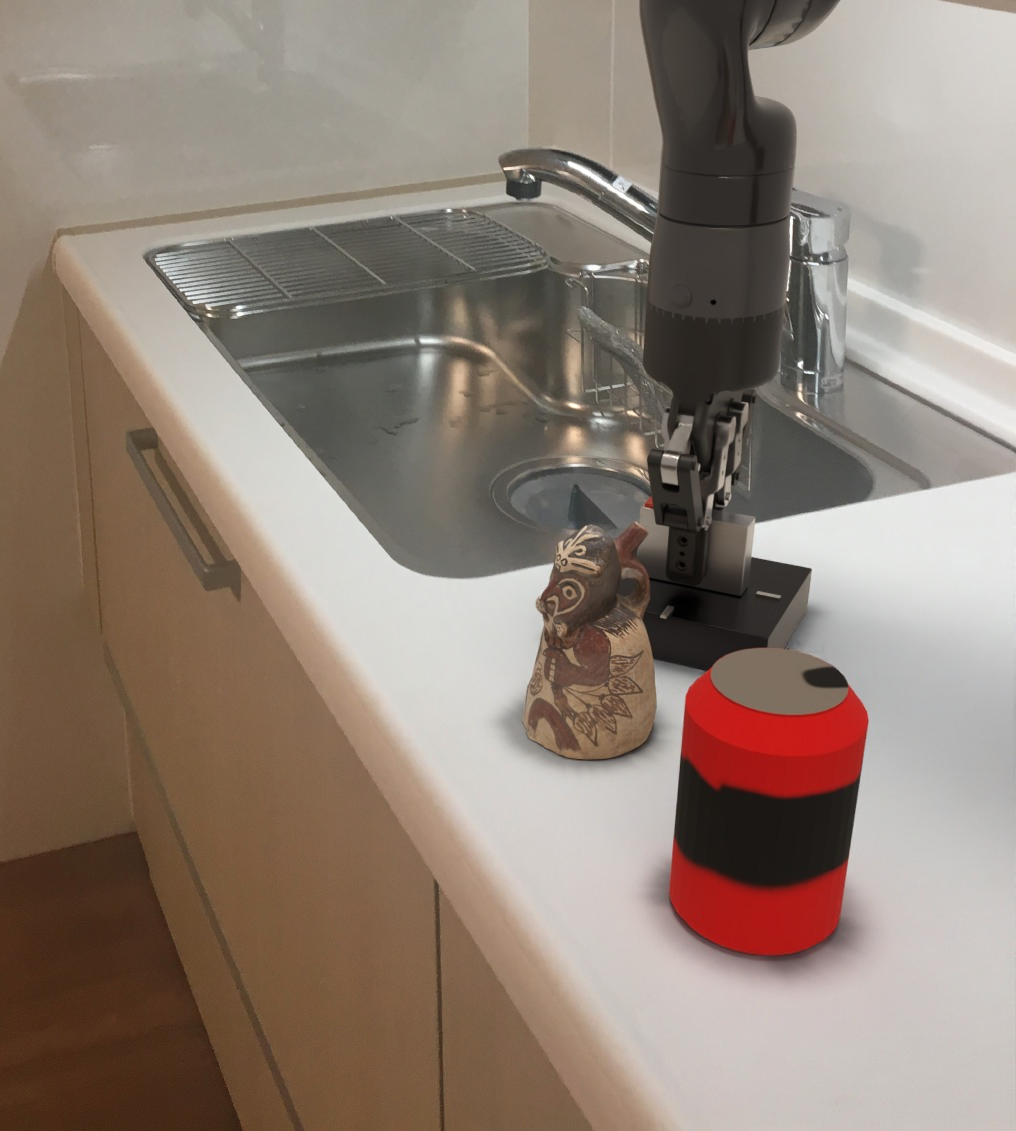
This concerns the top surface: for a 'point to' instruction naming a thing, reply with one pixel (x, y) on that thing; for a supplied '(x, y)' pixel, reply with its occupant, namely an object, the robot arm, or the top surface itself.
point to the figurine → (593, 650)
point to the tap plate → (724, 614)
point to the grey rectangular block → (723, 554)
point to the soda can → (766, 800)
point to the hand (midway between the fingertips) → (692, 569)
